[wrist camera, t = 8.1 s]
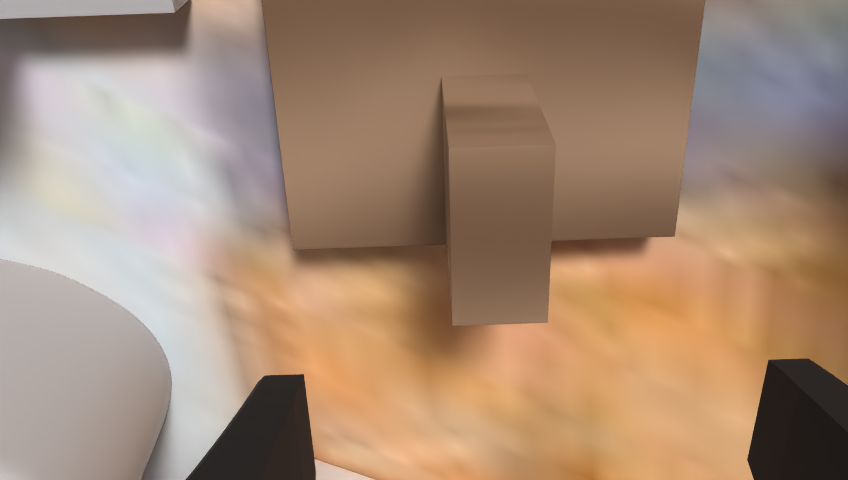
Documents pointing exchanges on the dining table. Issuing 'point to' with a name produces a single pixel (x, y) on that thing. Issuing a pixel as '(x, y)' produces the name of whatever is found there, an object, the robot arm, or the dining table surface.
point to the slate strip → (84, 7)
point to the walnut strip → (482, 130)
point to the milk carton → (336, 473)
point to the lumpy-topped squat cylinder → (75, 381)
